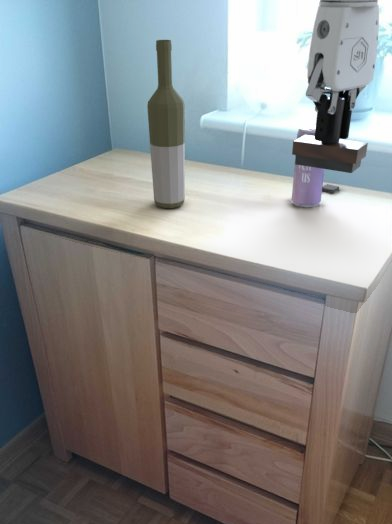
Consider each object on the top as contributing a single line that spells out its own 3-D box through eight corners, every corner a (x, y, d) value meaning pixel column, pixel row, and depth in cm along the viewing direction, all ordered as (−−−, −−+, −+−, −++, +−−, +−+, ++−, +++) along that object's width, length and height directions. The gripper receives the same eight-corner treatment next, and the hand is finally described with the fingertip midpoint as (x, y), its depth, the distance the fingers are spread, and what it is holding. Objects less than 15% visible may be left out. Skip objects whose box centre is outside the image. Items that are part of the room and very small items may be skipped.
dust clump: (333, 190, 120) (332, 193, 121) (339, 186, 122) (339, 190, 123) (320, 187, 122) (320, 190, 122) (327, 183, 124) (326, 187, 124)
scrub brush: (364, 166, 85) (375, 99, 79) (354, 174, 81) (364, 104, 76) (302, 157, 89) (309, 92, 84) (291, 164, 86) (296, 97, 81)
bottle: (193, 205, 115) (191, 40, 99) (165, 213, 112) (158, 43, 95) (173, 196, 120) (168, 37, 103) (146, 203, 117) (136, 40, 100)
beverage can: (324, 201, 117) (333, 125, 108) (313, 210, 112) (322, 132, 104) (298, 196, 119) (305, 122, 111) (286, 204, 115) (292, 128, 107)
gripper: (335, -5, 66) (317, 154, 76) (408, -9, 75) (383, 134, 85) (286, -6, 71) (276, 144, 81) (360, -9, 80) (342, 126, 90)
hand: (331, 138), depth 83 cm, fingers closed on scrub brush, 2 cm apart
